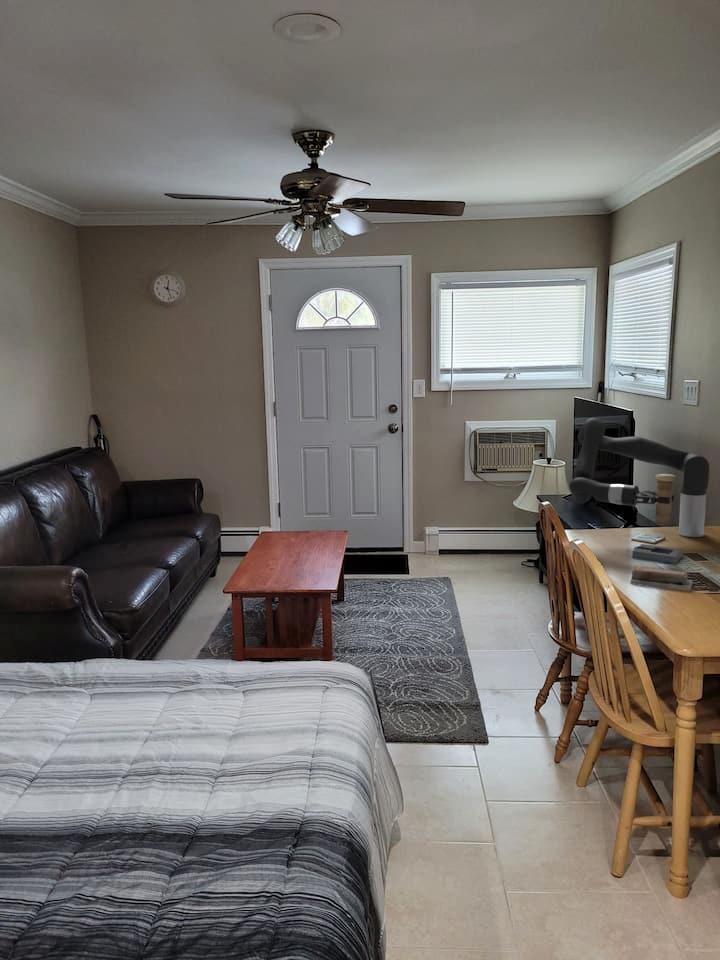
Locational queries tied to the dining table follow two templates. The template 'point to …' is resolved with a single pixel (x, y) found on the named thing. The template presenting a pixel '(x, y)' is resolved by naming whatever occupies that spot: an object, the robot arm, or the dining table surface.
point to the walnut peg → (664, 491)
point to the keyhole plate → (657, 553)
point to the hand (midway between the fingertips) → (671, 499)
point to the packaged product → (661, 578)
